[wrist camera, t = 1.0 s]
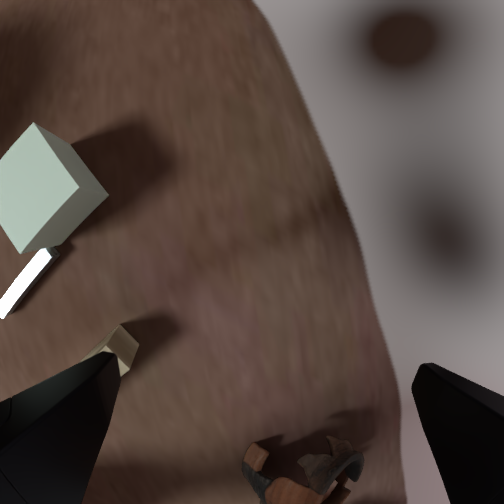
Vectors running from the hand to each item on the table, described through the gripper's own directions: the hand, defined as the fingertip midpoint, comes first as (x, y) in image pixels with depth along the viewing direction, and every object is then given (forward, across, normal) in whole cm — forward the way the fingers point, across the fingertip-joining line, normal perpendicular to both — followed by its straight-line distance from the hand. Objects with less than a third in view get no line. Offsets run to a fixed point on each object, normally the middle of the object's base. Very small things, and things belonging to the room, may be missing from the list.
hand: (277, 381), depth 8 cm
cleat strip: (+11, +16, +3) cm, 20 cm away
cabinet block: (+13, +14, -3) cm, 19 cm away
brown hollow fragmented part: (+11, -5, +20) cm, 23 cm away
